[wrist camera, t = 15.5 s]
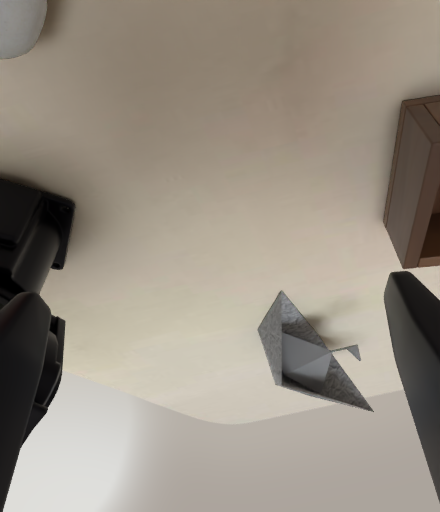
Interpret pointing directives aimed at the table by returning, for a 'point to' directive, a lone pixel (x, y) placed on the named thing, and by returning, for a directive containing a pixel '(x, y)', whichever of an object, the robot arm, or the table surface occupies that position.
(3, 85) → the table surface
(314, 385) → the paper boat
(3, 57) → the multicoloured petal fan toy
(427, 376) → the robot arm
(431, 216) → the box
